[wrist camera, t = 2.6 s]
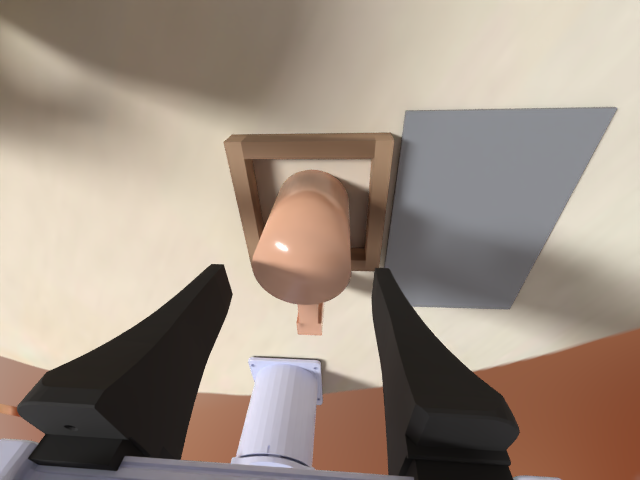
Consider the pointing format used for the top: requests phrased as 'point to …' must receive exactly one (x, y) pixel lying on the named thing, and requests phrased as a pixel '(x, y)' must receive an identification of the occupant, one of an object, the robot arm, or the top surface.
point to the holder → (313, 147)
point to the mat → (483, 198)
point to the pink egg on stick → (306, 246)
